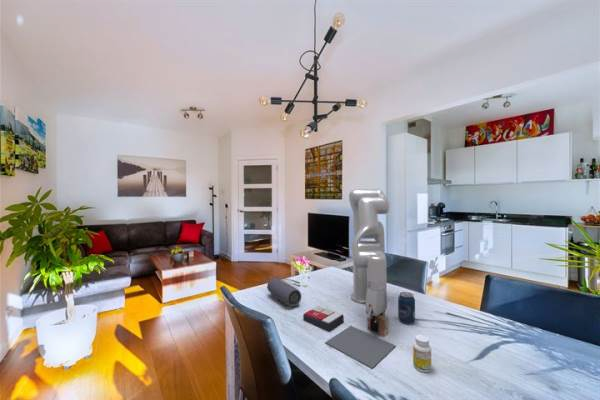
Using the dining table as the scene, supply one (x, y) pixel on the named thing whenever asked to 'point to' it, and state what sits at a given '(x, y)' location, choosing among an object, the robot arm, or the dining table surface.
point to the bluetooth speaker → (284, 292)
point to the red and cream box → (324, 318)
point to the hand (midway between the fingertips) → (377, 328)
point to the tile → (380, 325)
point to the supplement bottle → (422, 353)
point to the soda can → (406, 308)
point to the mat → (361, 346)
